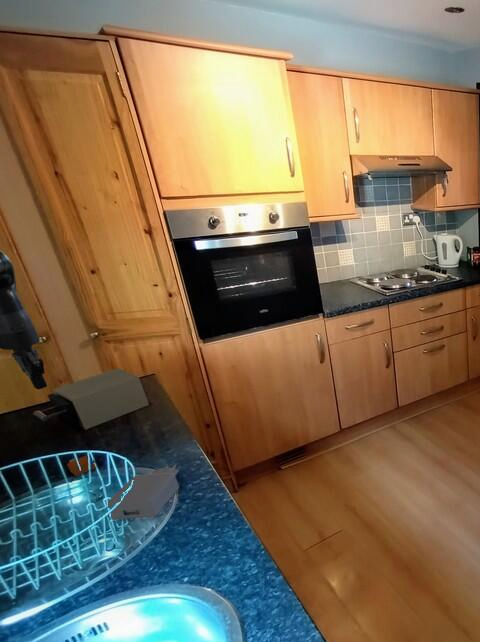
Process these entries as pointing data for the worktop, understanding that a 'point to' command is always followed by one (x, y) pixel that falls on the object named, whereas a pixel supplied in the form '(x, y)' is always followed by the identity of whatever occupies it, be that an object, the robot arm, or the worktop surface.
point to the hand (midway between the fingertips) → (41, 387)
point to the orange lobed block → (83, 463)
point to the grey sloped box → (104, 396)
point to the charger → (145, 494)
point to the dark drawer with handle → (61, 411)
